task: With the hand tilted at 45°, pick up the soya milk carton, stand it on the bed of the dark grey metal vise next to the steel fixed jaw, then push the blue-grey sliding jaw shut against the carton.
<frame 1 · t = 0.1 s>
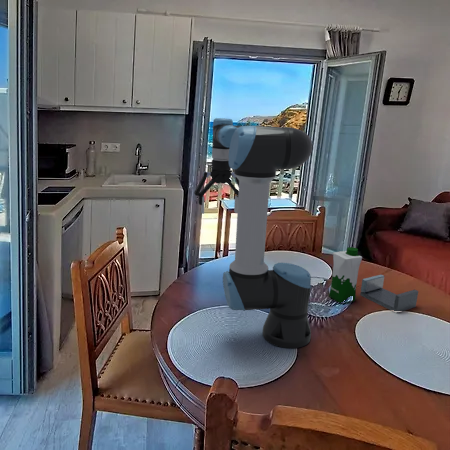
hand: (219, 212, 175), 28 cm above the table, tool pointing down, fingers open, 13 cm apart
soya milk: (341, 299, 168), on the table
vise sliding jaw: (373, 283, 173), point 4 cm above the table, slide at 0.0 cm
vise base: (387, 301, 168), on the table
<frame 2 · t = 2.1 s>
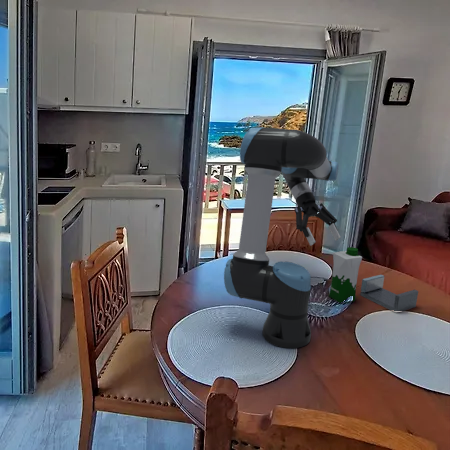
hand: (325, 241, 172), 20 cm above the table, tool tilted 45°, fingers open, 13 cm apart
nothing on the table moved.
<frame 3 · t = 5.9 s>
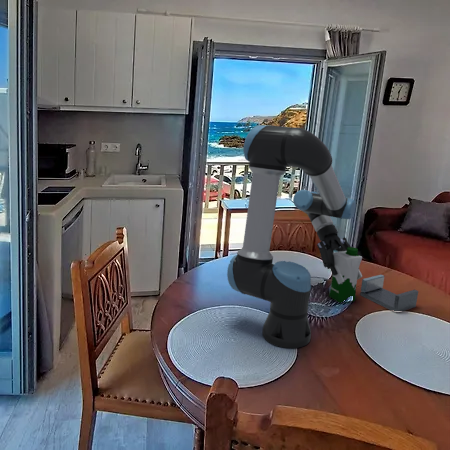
hand: (350, 280, 163), 9 cm above the table, tool tilted 45°, fingers closed on soya milk, 9 cm apart
soya milk: (341, 299, 168), on the table, touching gripper
everything else where it was.
when the fingers open (12 cm above the table, at t = 13.6 s): soya milk drops 1 cm, resting on vise base.
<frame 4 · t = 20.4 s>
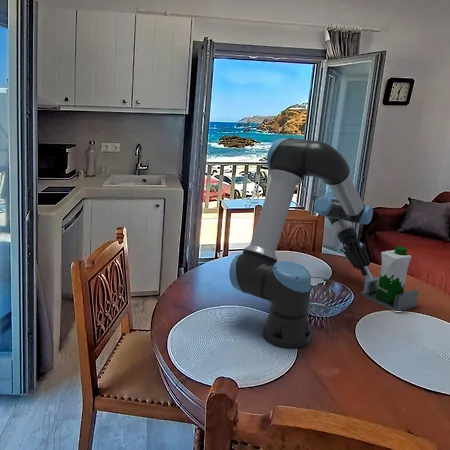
hand: (371, 282, 174), 4 cm above the table, tool tilted 45°, fingers closed
soya milk: (388, 298, 167), point 1 cm above the table, touching vise base
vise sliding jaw: (375, 284, 172), point 4 cm above the table, slide at 1.2 cm, touching gripper
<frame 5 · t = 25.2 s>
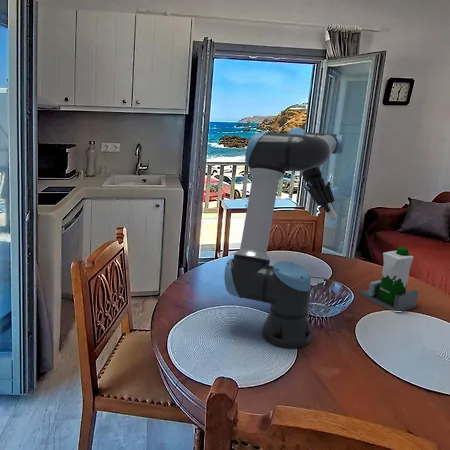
hand: (334, 218, 174), 28 cm above the table, tool tilted 45°, fingers closed
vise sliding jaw: (380, 287, 170), point 4 cm above the table, slide at 3.7 cm
everything else where it was.
at the end: soya milk 0.4 cm from the target spot on the vise base, point 1.3 cm above the vise base's base; soya milk tilted 0°; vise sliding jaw slide at 3.7 cm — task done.
